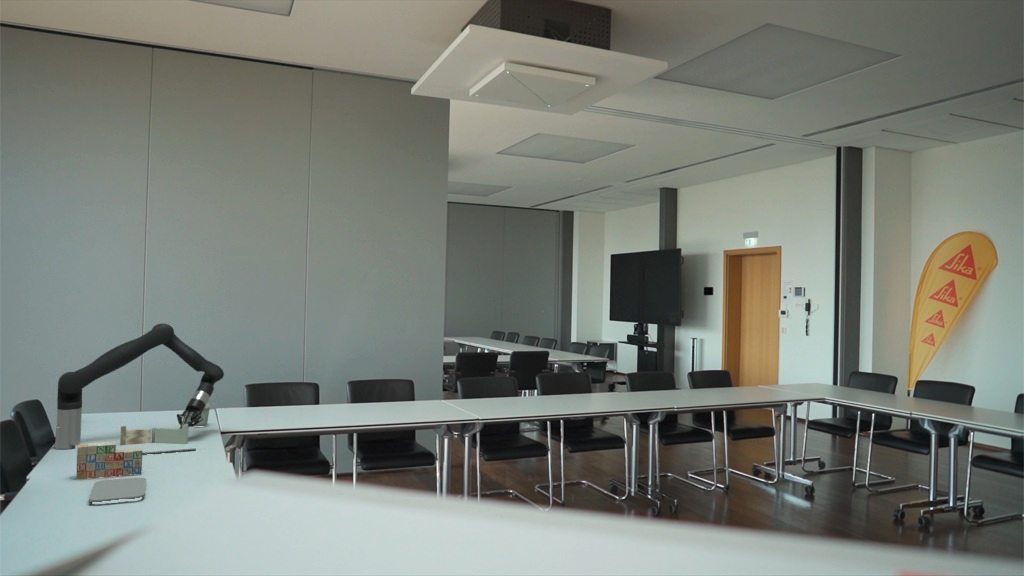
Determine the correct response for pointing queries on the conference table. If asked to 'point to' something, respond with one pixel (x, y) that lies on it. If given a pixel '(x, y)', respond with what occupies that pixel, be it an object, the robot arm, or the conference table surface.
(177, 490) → the conference table surface
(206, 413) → the coffee cup
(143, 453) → the board
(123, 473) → the stack of blocks
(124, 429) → the fixed fence panel
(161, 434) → the hinged fence panel
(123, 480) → the tablet
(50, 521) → the conference table surface
